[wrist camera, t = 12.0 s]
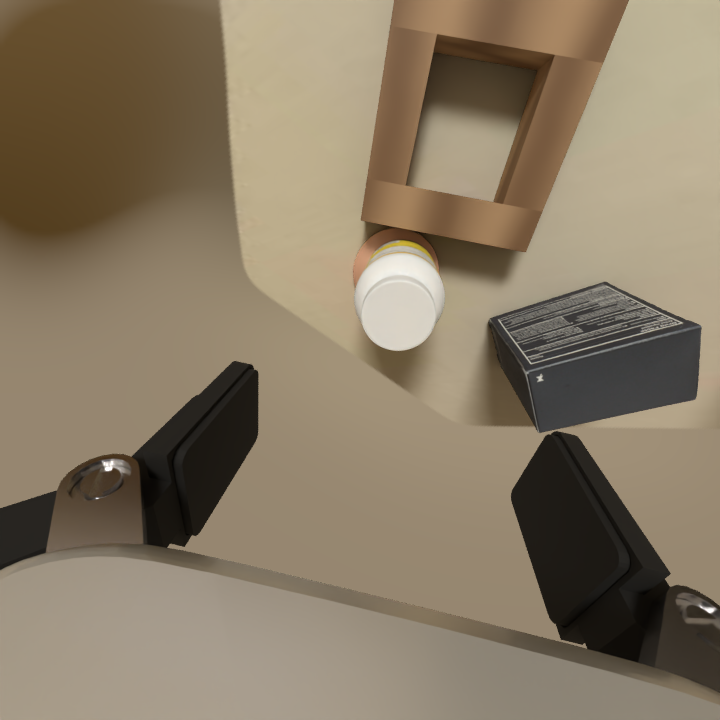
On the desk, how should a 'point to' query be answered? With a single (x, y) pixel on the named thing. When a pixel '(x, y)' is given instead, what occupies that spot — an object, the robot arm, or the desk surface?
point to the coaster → (383, 238)
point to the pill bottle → (399, 295)
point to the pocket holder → (538, 123)
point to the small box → (596, 356)
